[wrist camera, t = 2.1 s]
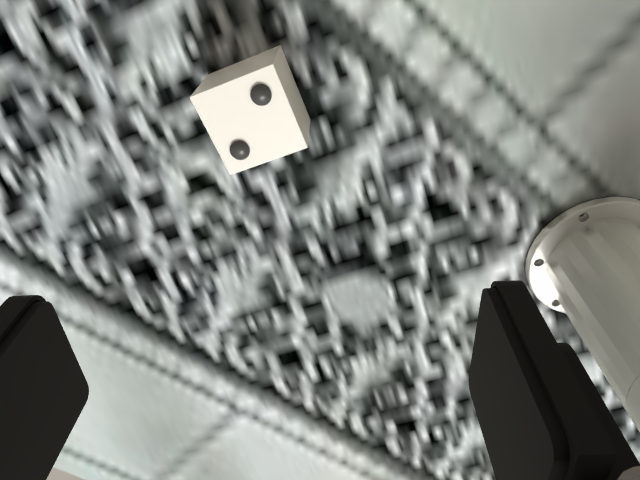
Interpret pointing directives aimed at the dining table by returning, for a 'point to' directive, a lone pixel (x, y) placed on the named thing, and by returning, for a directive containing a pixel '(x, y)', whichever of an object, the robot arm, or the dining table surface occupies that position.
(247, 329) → the dining table surface
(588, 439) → the robot arm
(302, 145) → the die
